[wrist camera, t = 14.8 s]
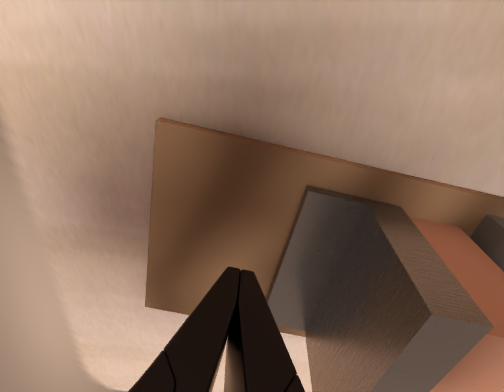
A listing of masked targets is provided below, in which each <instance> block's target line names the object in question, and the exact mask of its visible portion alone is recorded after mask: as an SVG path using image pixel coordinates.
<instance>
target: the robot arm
mask: <svg viewBox="0 0 504 392" xmlns="http://www.w3.org/2000/svg"><path fill="white" fill-rule="evenodd" d="M227 337H228V338H227ZM226 341H227V348H226V365H225V384H224V392H305V390H304V388H303V386H302V383H301V381H300V379H299V376H298V375H296V374H297V372H296V369H295V367H294V365H293V362H292V360H291V358H290V355H289V353H288V350H287V348H286V346H285V343H284V341H283V339H282V336H281V334H280V332H279V329H278V327H277V324H276V322H275V320H274V317H273V315H272V313H271V310H270V308H269V306H268V303H267V301H266V298H265V296H264V294H263V291H262V289H261V287H260V284H259V282H258V279H257V277H256V275H255V273H254V272H253V271H250V270H245V269H242V270H241V271H240V269H239V268H235V267H227V268H226V269H225V270H224V272H223V273H222V274H221V276H220V277H219V278H218V279H217V281H216V282H215V283H214V285H213V286H212V287H211V288H210V290H209V291H208V292H207V294H206V295H205V296H204V297H203V299H202V300H201V301H200V303H199V304H198V305H197V307H196V308H195V309H194V310H193V312H192V313H191V314H190V316H189V317H188V318H187V319H186V321H185V322H184V323H183V325H182V326H181V327H180V328H179V330H178V331H177V332H176V334H175V335H174V336H173V337H172V339H171V340H170V341H169V343H168V344H167V345H166V346H165V348H164V351H161V353H160V354H159V355H158V356H157V358H156V359H155V360H154V362H153V363H152V364H151V365H150V367H149V368H148V369H147V370H146V371H145V373H144V374H143V375H142V376H141V377H140V379H139V380H138V381H137V382H136V383H135V384H134V385H133V387H132V388H131V389H130V390H129V391H128V392H212V389H213V386H214V383H215V379H216V376H217V372H218V369H219V366H220V362H221V359H222V356H223V352H224V349H225V345H226Z"/></svg>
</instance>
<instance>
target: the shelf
mask: <svg viewBox="0 0 504 392" xmlns="http://www.w3.org/2000/svg"><path fill="white" fill-rule="evenodd" d="M307 186H312V187H316V188H320V189H325V190H329V191H334V192H338V193H343V194H347V195H352V196H356V197H361V198H365V199H370V200H374V201H378V202H383V203H387V204H392V205H396V206H401V207H402V209H403V210H404V211H405V212H406V214H407V215H408V216H410V217H415V218H419V219H424V220H428V221H433V222H437V223H442V224H446V225H451V226H455V227H460V228H461V229H462V230H463V231H464V232H465V233H466V234H467V235H468V236H469V237H470V238H471V239H472V240H473V241H474V242H475V243H476V244H477V245H478V246H479V247H480V249H481V250H482V251H483V252H484V253H485V254H486V255H487V256H488V257H489V258H490V259H491V260H492V261H493V262H494V263H495V264H496V265H497V266H498V267H499V268H500V269H501V270H502V271H503V272H504V198H503V197H499V196H495V195H491V194H486V193H482V192H478V191H473V190H469V189H465V188H460V187H456V186H452V185H447V184H443V183H439V182H435V181H430V180H426V179H422V178H417V177H413V176H409V175H404V174H400V173H396V172H391V171H387V170H383V169H379V168H374V167H370V166H366V165H361V164H357V163H353V162H348V161H344V160H340V159H335V158H331V157H327V156H323V155H318V154H314V153H310V152H305V151H301V150H297V149H292V148H288V147H284V146H280V145H275V144H271V143H267V142H262V141H258V140H254V139H249V138H245V137H241V136H236V135H232V134H228V133H224V132H219V131H215V130H211V129H206V128H202V127H198V126H193V125H189V124H185V123H180V122H176V121H172V120H168V119H163V118H159V119H157V120H156V131H155V148H154V165H153V182H152V199H151V216H150V233H149V250H148V267H147V284H146V301H145V307H150V308H155V309H160V310H166V311H171V312H176V313H181V314H187V315H190V314H191V313H192V312H193V310H194V309H195V308H196V307H197V305H198V304H199V303H200V301H201V300H202V299H203V297H204V296H205V295H206V294H207V292H208V291H209V290H210V288H211V287H212V286H213V285H214V283H215V282H216V281H217V279H218V278H219V277H220V276H221V274H222V273H223V272H224V270H225V269H226V268H227V267H235V268H239V269H240V271H241V270H242V269H245V270H250V271H253V272H254V273H255V275H256V277H257V279H258V282H259V284H260V287H261V289H262V291H263V294H264V296H265V298H266V299H267V296H268V293H269V290H270V288H271V285H272V282H273V279H274V276H275V274H276V271H277V268H278V265H279V263H280V260H281V257H282V254H283V251H284V249H285V246H286V243H287V240H288V237H289V235H290V232H291V229H292V226H293V223H294V221H295V218H296V215H297V212H298V209H299V207H300V204H301V201H302V198H303V196H304V193H305V190H306V187H307ZM277 327H278V329H279V332H282V333H287V334H292V335H298V336H303V337H306V336H305V331H302V330H297V329H292V328H286V327H281V326H277Z"/></svg>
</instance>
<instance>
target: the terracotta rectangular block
mask: <svg viewBox="0 0 504 392" xmlns="http://www.w3.org/2000/svg"><path fill="white" fill-rule="evenodd" d="M409 218H410V219H411V220H412V222H413V223H414V224H415V225H416V227H417V228H418V229H419V231H420V232H421V233H422V234H423V236H424V237H425V238H426V240H427V241H428V242H429V243H430V245H431V246H432V247H433V249H434V250H435V251H436V252H437V254H438V255H439V256H440V258H441V259H442V260H443V262H444V263H445V264H446V265H447V267H448V268H449V269H450V271H451V272H452V273H453V274H454V276H455V277H456V278H457V280H458V281H459V282H460V283H461V285H462V286H463V287H464V289H465V290H466V291H467V293H468V294H469V295H470V296H471V298H472V299H473V300H474V302H475V303H476V304H477V305H478V307H479V308H480V309H481V311H482V312H483V313H484V314H485V316H486V317H487V318H488V320H489V321H490V322H491V324H492V325H493V326H494V327H493V328H492V329H491V330H490V331H489V332H488V333H487V334H486V335H485V336H484V337H483V338H482V339H481V340H480V341H479V342H478V343H477V344H476V345H475V346H474V347H473V348H472V349H471V350H470V351H469V352H468V353H467V354H466V355H465V356H464V357H463V358H462V359H461V360H460V361H459V362H458V363H457V364H456V365H455V366H454V367H453V368H452V369H451V370H450V371H449V373H448V374H447V375H446V376H445V377H444V378H443V379H442V380H441V381H440V382H439V383H438V384H437V385H436V386H435V387H434V388H433V389H432V390H431V391H430V392H504V272H503V271H502V270H501V269H500V268H499V267H498V266H497V265H496V264H495V263H494V262H493V261H492V260H491V259H490V258H489V257H488V256H487V255H486V254H485V253H484V252H483V251H482V250H481V249H480V247H479V246H478V245H477V244H476V243H475V242H474V241H473V240H472V239H471V238H470V237H469V236H468V235H467V234H466V233H465V232H464V231H463V230H462V229H461V228H460V227H455V226H451V225H446V224H442V223H437V222H433V221H428V220H424V219H419V218H415V217H410V216H409Z"/></svg>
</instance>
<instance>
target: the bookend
mask: <svg viewBox="0 0 504 392" xmlns="http://www.w3.org/2000/svg"><path fill="white" fill-rule="evenodd" d="M266 301H267V303H268V306H269V308H270V310H271V313H272V315H273V317H274V320H275V322H276V324H277V326H281V327H286V328H292V329H297V330H302V331H305V336H306V344H307V352H308V360H309V368H310V376H311V384H312V392H430V391H431V390H432V389H433V388H434V387H435V386H436V385H437V384H438V383H439V382H440V381H441V380H442V379H443V378H444V377H445V376H446V375H447V374H448V373H449V371H450V370H451V369H452V368H453V367H454V366H455V365H456V364H457V363H458V362H459V361H460V360H461V359H462V358H463V357H464V356H465V355H466V354H467V353H468V352H469V351H470V350H471V349H472V348H473V347H474V346H475V345H476V344H477V343H478V342H479V341H480V340H481V339H482V338H483V337H484V336H485V335H486V334H487V333H488V332H489V331H490V330H491V329H492V328H493V327H494V326H493V325H492V324H491V322H490V321H489V320H488V318H487V317H486V316H485V314H484V313H483V312H482V311H481V309H480V308H479V307H478V305H477V304H476V303H475V302H474V300H473V299H472V298H471V296H470V295H469V294H468V293H467V291H466V290H465V289H464V287H463V286H462V285H461V283H460V282H459V281H458V280H457V278H456V277H455V276H454V274H453V273H452V272H451V271H450V269H449V268H448V267H447V265H446V264H445V263H444V262H443V260H442V259H441V258H440V256H439V255H438V254H437V252H436V251H435V250H434V249H433V247H432V246H431V245H430V243H429V242H428V241H427V240H426V238H425V237H424V236H423V234H422V233H421V232H420V231H419V229H418V228H417V227H416V225H415V224H414V223H413V222H412V220H411V219H410V218H409V216H408V215H407V214H406V212H405V211H404V210H403V209H402V207H401V206H396V205H392V204H387V203H383V202H378V201H374V200H370V199H365V198H361V197H356V196H352V195H347V194H343V193H338V192H334V191H329V190H325V189H320V188H316V187H312V186H307V187H306V190H305V193H304V196H303V198H302V201H301V204H300V207H299V209H298V212H297V215H296V218H295V221H294V223H293V226H292V229H291V232H290V235H289V237H288V240H287V243H286V246H285V249H284V251H283V254H282V257H281V260H280V263H279V265H278V268H277V271H276V274H275V276H274V279H273V282H272V285H271V288H270V290H269V293H268V296H267V299H266Z"/></svg>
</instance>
